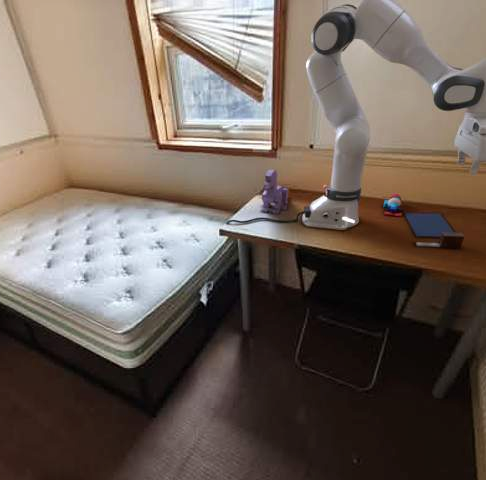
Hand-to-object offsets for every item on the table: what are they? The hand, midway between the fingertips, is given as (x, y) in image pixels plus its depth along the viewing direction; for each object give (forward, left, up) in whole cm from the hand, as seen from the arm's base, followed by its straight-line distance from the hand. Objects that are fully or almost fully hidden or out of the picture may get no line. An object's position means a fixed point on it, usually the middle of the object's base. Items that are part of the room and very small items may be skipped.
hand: (466, 168), depth 104 cm
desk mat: (-1, +11, -25) cm, 27 cm away
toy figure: (-11, +26, -25) cm, 38 cm away
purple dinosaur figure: (-61, +27, -25) cm, 71 cm away
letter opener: (-3, -5, -25) cm, 26 cm away
